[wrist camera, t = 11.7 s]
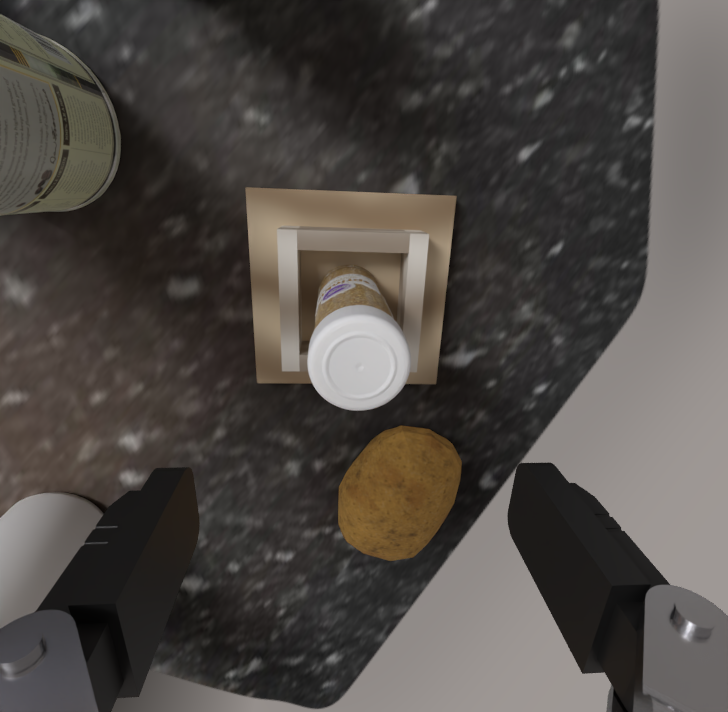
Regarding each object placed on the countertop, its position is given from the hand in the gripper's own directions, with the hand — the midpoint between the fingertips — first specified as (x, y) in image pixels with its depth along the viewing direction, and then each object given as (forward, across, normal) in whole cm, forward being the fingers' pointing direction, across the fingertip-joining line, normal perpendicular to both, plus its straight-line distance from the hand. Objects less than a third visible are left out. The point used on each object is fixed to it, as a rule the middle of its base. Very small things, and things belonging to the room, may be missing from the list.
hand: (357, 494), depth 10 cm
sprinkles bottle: (+22, -1, 0) cm, 22 cm away
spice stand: (+23, -1, 0) cm, 23 cm away
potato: (+23, -5, +16) cm, 29 cm away
